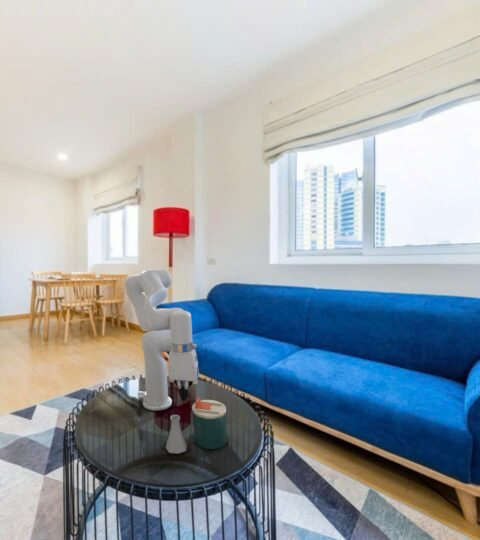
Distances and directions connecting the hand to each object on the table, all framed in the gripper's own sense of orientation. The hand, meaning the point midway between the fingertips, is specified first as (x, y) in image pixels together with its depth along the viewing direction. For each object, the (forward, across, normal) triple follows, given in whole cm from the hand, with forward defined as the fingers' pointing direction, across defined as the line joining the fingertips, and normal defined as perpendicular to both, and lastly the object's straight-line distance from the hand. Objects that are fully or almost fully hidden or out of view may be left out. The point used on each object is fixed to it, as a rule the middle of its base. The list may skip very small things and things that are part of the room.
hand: (184, 399), depth 100 cm
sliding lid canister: (+13, -8, 0) cm, 15 cm away
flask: (+13, +2, +7) cm, 15 cm away
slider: (+2, -7, 0) cm, 7 cm away
